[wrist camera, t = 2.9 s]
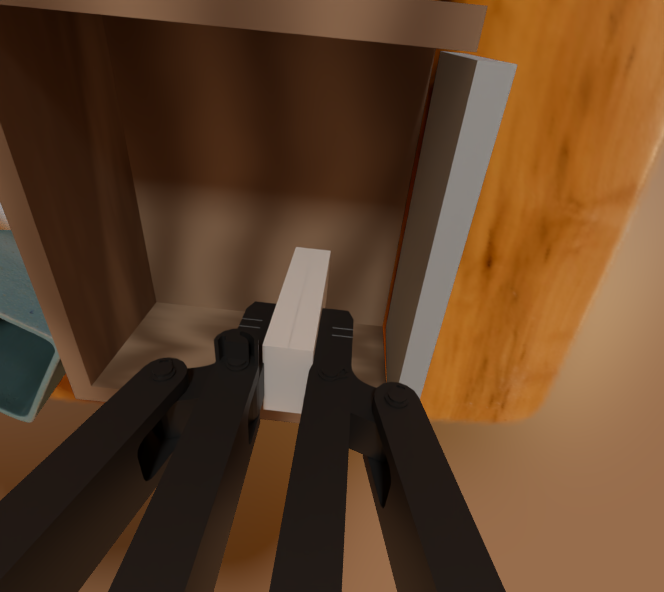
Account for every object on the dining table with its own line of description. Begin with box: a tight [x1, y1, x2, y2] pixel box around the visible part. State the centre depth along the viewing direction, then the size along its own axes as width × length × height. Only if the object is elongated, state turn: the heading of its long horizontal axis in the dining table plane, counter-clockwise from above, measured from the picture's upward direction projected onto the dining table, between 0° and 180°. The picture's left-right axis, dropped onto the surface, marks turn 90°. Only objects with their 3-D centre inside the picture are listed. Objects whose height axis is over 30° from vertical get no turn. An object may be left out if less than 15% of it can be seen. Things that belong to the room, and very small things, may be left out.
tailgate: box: [386, 51, 517, 399], centre depth 21 cm, size 1×17×9 cm, turn 175°
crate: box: [0, 0, 487, 423], centre depth 22 cm, size 18×20×10 cm
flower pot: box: [0, 230, 66, 422], centre depth 27 cm, size 9×9×9 cm
